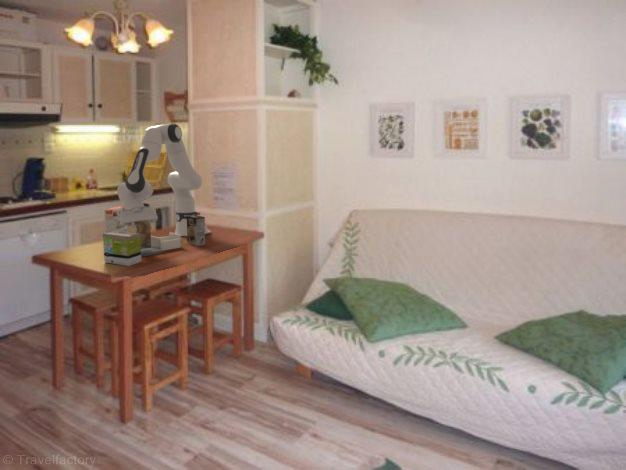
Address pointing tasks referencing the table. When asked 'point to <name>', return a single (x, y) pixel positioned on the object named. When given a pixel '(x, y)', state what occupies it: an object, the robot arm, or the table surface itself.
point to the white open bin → (166, 242)
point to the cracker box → (113, 220)
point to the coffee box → (196, 230)
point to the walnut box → (144, 233)
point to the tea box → (122, 248)
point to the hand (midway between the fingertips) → (143, 229)
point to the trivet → (150, 251)
